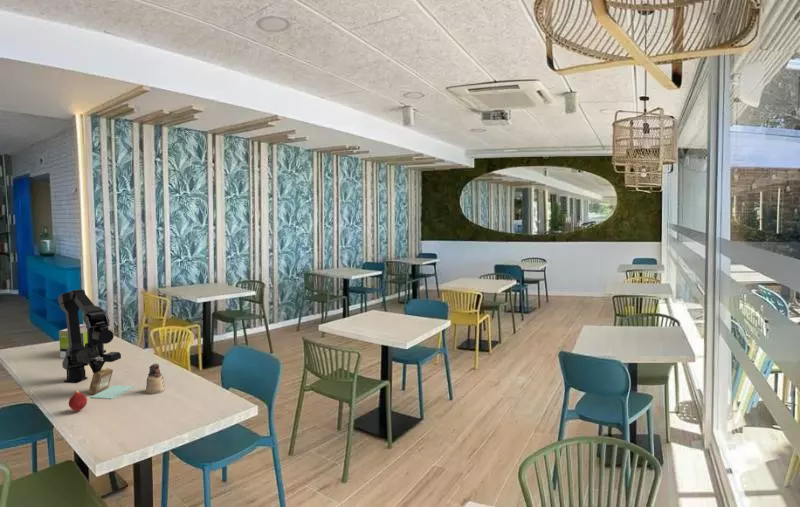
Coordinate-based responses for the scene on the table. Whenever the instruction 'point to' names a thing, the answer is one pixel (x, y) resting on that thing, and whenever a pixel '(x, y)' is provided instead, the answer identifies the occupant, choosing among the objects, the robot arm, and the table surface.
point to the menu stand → (100, 381)
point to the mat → (112, 392)
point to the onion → (77, 401)
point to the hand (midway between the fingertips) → (96, 376)
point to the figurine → (155, 380)
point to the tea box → (65, 341)
